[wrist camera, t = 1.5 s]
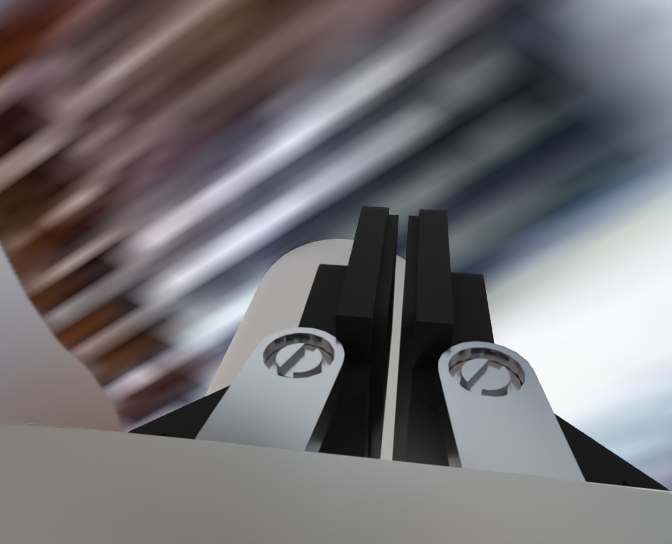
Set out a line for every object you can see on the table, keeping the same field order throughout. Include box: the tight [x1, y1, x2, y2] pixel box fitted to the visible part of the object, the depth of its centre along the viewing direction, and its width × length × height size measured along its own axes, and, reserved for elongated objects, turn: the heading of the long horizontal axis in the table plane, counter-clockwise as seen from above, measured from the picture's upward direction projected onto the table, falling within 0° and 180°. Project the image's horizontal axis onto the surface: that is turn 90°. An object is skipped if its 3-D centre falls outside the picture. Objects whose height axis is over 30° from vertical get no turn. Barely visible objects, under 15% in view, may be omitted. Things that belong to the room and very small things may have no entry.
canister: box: [205, 239, 406, 460], centre depth 33 cm, size 14×14×20 cm
